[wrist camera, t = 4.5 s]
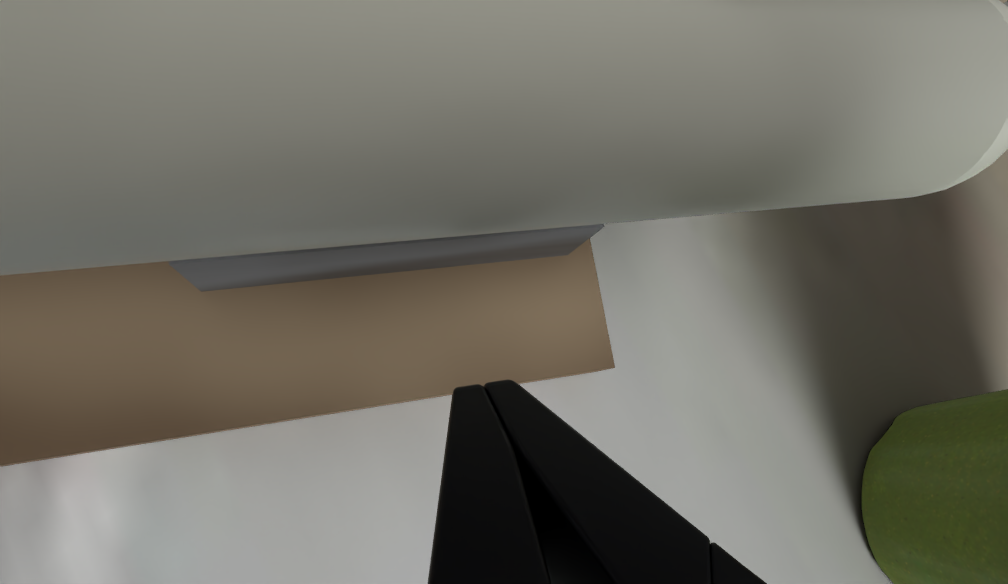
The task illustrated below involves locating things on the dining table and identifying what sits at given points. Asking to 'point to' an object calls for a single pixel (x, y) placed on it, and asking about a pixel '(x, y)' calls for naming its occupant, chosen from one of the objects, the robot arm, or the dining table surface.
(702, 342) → the dining table surface
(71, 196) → the toggle
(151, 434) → the switch board
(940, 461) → the plant pot
